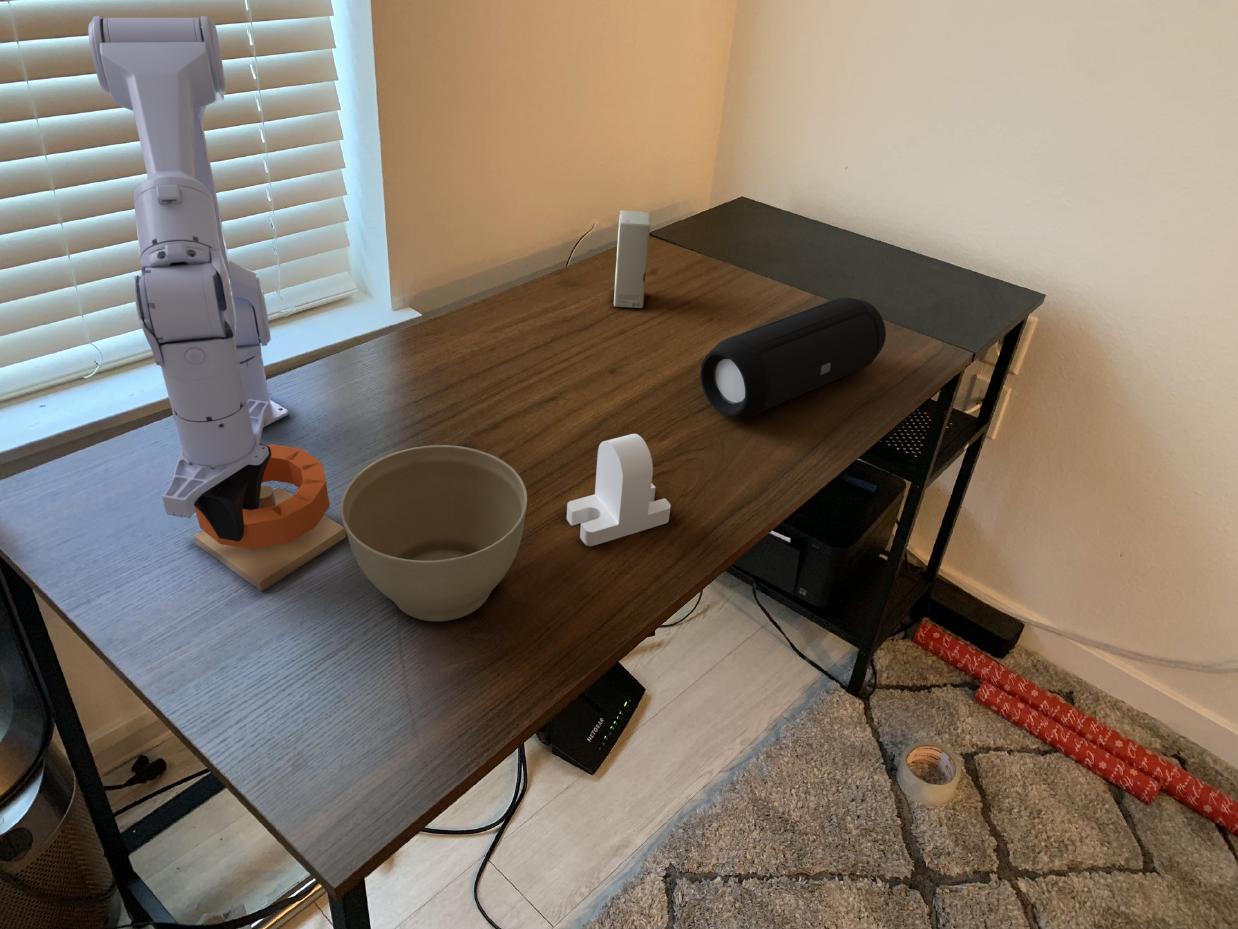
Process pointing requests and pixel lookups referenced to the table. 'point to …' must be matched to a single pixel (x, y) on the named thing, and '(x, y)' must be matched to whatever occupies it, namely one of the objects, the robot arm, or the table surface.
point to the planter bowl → (435, 527)
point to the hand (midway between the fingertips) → (238, 527)
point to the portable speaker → (791, 356)
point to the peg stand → (273, 547)
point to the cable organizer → (619, 494)
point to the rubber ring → (290, 514)
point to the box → (631, 258)
